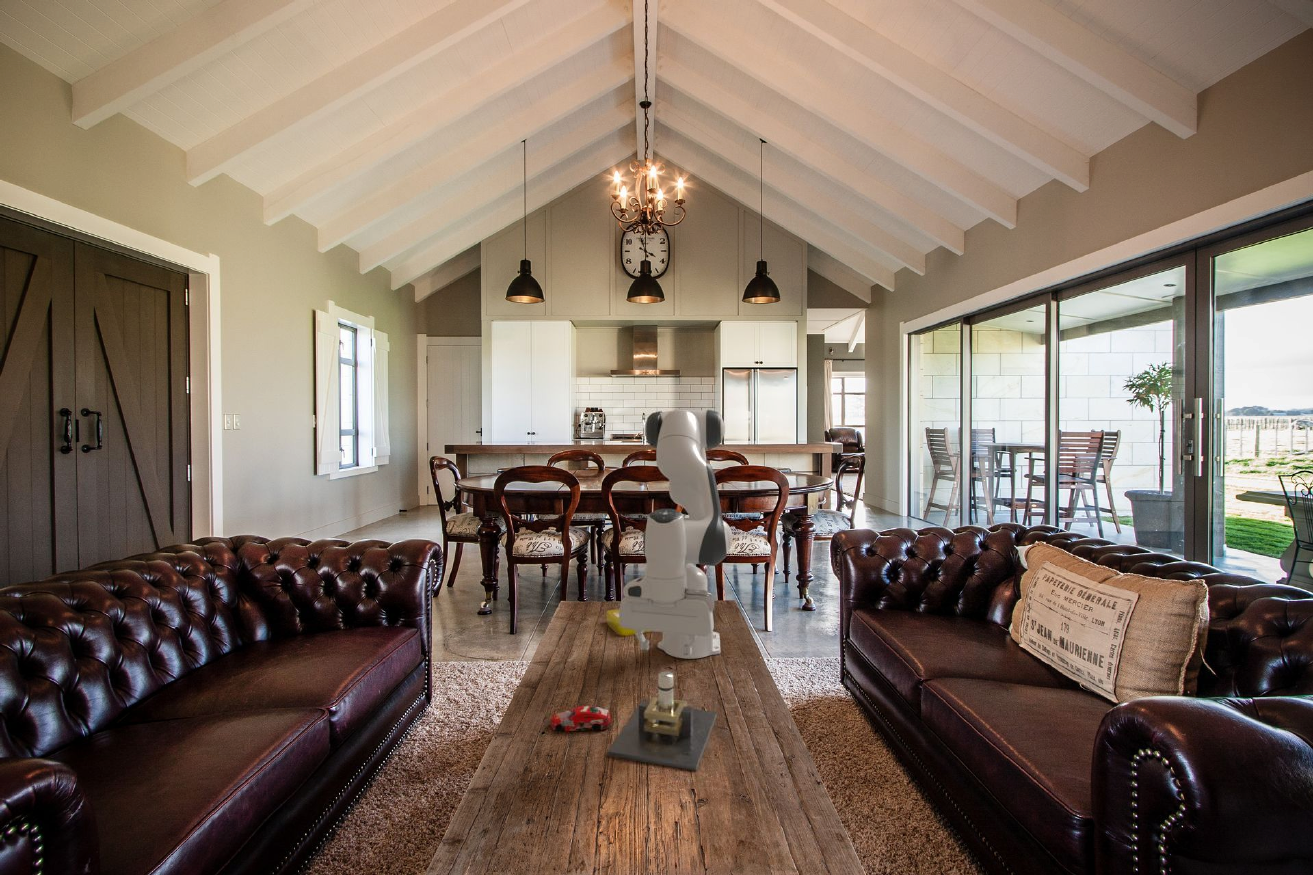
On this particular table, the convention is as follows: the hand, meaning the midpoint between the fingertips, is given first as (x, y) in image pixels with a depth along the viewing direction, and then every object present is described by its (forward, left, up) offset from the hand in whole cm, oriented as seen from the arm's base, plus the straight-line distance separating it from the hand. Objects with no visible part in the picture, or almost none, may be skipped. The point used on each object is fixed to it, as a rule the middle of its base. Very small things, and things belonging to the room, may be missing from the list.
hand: (666, 651), depth 125 cm
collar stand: (0, 0, -18) cm, 18 cm away
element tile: (-64, -28, -18) cm, 72 cm away
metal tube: (0, 0, -17) cm, 17 cm away
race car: (+1, -19, -18) cm, 27 cm away
